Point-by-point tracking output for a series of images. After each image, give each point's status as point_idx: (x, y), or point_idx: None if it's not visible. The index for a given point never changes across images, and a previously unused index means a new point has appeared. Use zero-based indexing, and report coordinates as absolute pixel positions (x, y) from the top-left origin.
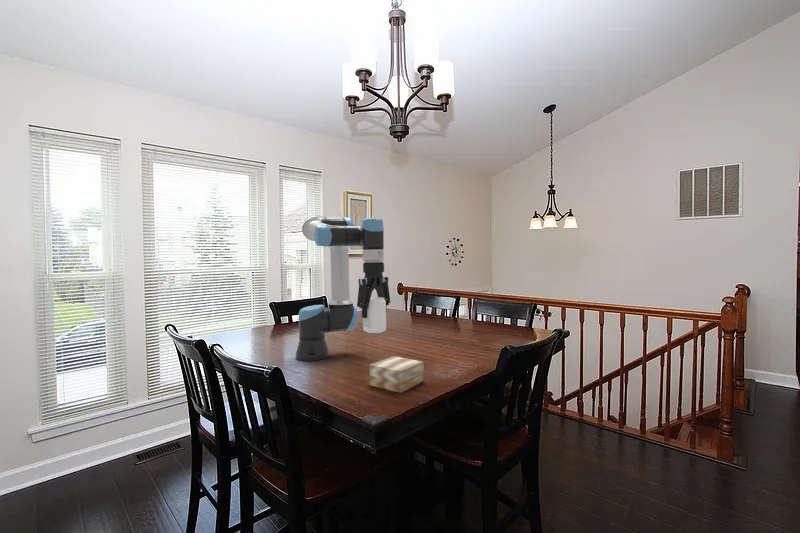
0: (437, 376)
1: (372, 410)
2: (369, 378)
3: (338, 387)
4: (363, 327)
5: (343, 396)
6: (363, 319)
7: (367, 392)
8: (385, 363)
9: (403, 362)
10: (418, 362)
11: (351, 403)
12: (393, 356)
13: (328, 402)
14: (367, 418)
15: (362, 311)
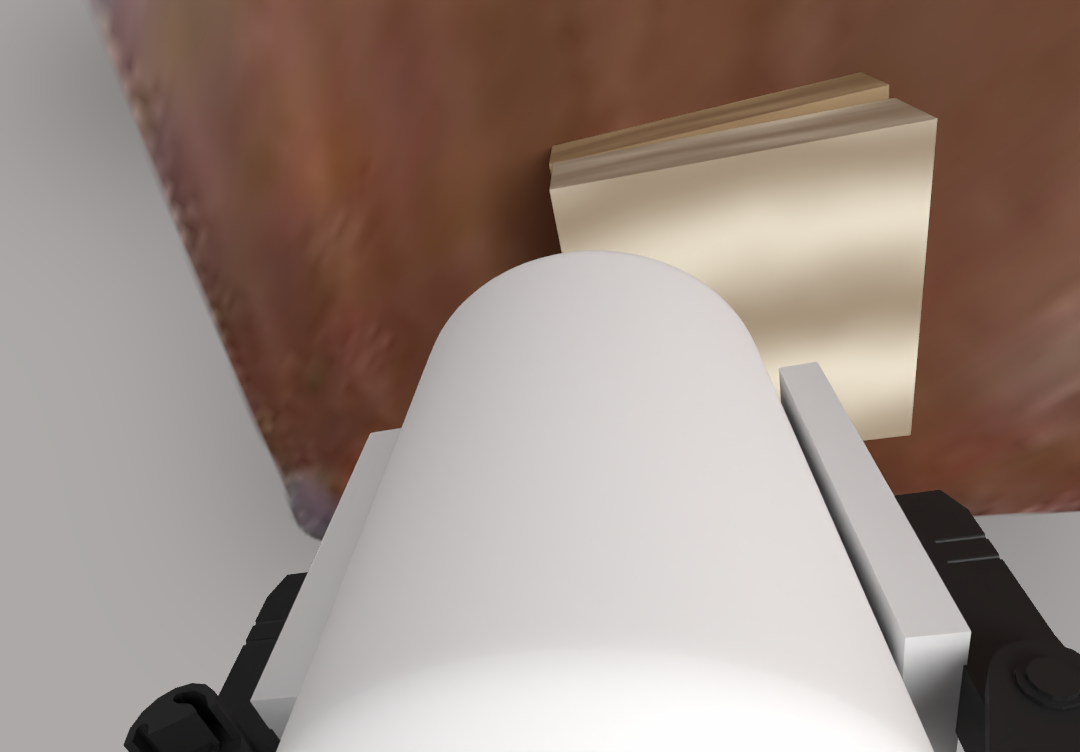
0: (1017, 341)
1: (351, 453)
2: (550, 160)
3: (336, 17)
4: (436, 345)
5: (299, 207)
6: (339, 525)
7: (459, 254)
8: (675, 263)
9: (799, 344)
10: (873, 419)
11: (298, 326)
12: (916, 130)
13: (184, 227)
14: (293, 494)
15: (233, 694)
